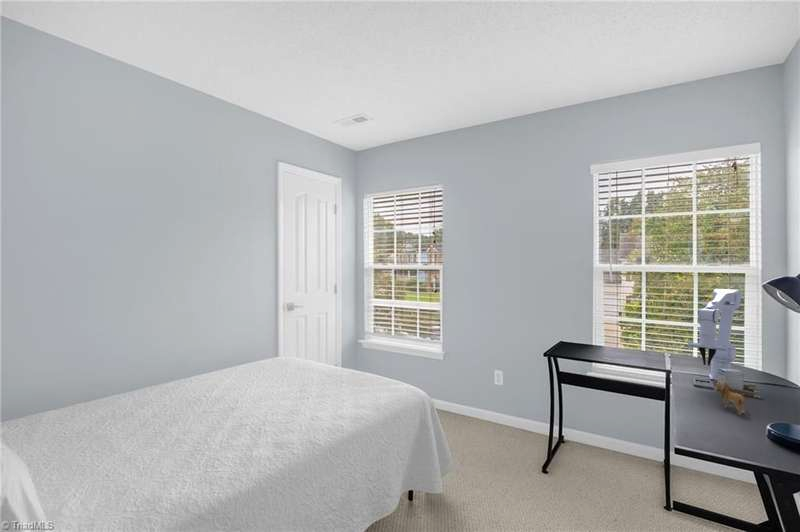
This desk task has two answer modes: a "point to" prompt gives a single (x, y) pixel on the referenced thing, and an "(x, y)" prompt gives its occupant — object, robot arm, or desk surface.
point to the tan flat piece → (750, 386)
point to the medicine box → (731, 378)
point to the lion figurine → (731, 397)
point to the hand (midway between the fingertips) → (706, 364)
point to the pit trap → (702, 382)
